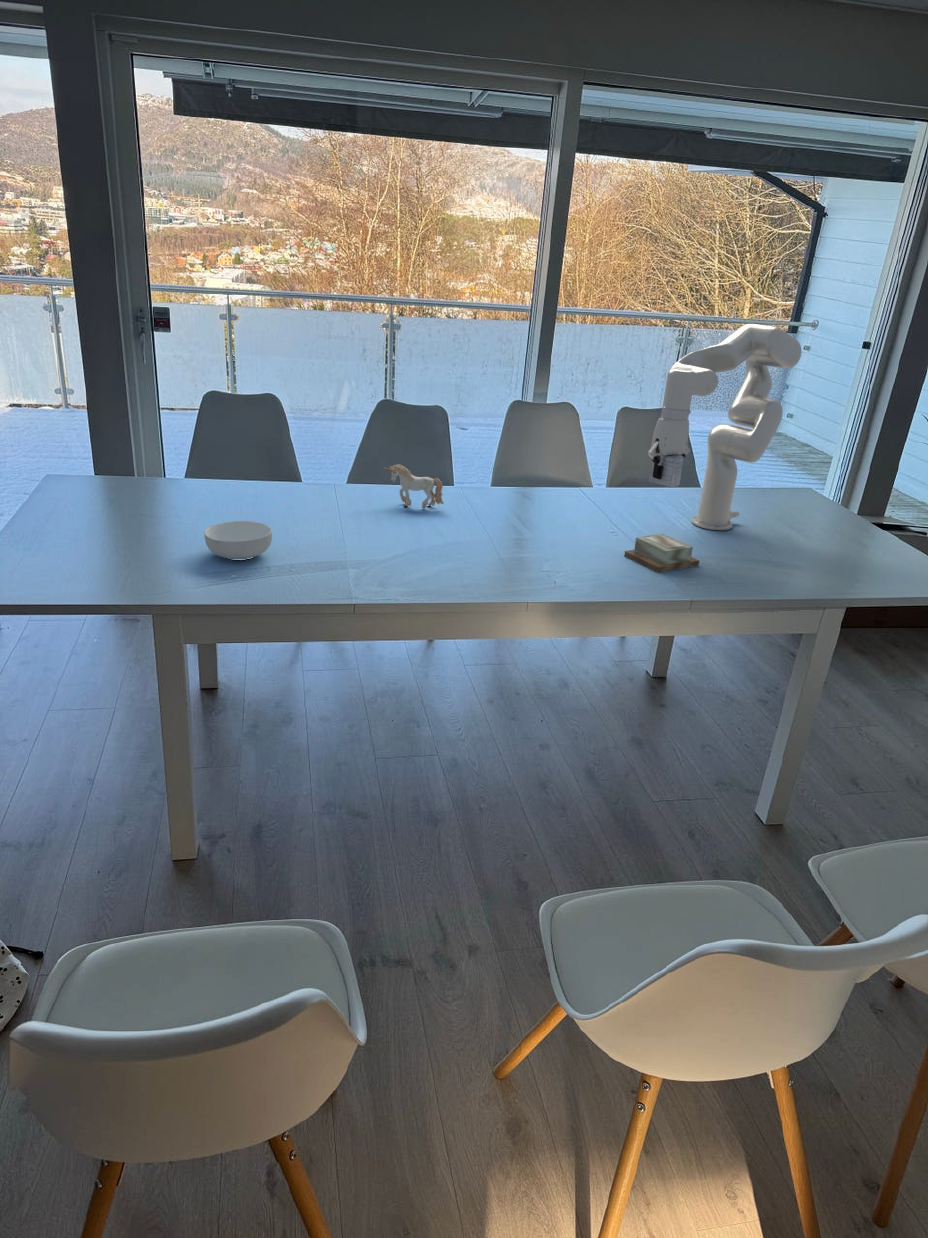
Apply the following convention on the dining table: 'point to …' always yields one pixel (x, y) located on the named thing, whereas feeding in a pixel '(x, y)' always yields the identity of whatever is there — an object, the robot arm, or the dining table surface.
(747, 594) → the dining table surface
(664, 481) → the medicine box
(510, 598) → the dining table surface
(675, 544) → the base board
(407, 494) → the unicorn figurine
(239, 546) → the cereal bowl
